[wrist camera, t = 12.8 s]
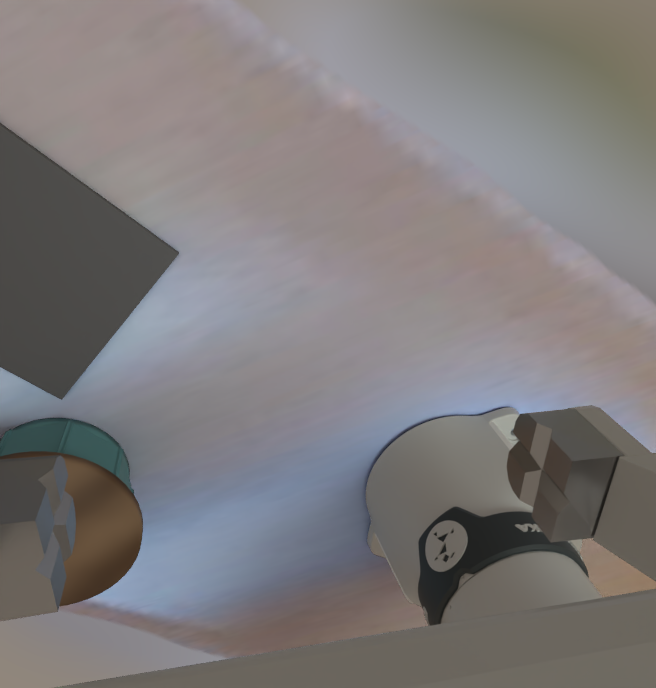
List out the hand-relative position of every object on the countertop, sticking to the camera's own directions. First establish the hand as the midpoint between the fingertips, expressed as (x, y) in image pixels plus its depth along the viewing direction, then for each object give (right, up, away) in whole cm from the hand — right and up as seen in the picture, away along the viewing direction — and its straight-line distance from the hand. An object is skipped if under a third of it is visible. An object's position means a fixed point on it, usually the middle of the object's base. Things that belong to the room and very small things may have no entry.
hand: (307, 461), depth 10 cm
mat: (-19, +7, +28) cm, 34 cm away
